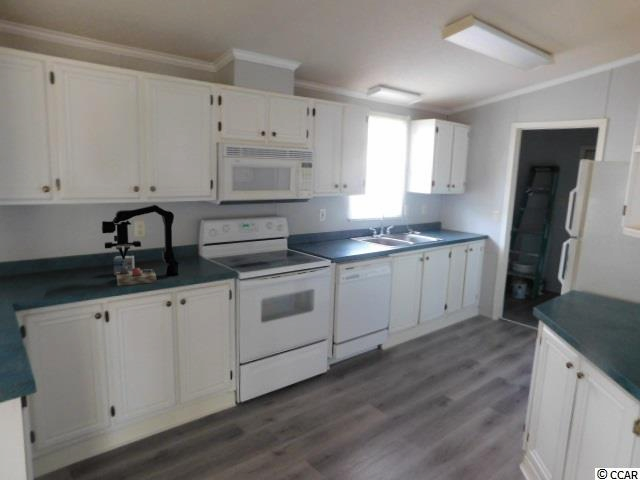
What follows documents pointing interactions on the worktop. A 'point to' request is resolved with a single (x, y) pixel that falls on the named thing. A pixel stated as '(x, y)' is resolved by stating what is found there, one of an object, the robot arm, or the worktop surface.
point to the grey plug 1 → (123, 270)
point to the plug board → (135, 278)
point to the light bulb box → (123, 263)
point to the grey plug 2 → (146, 270)
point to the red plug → (136, 272)
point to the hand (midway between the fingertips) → (123, 259)
